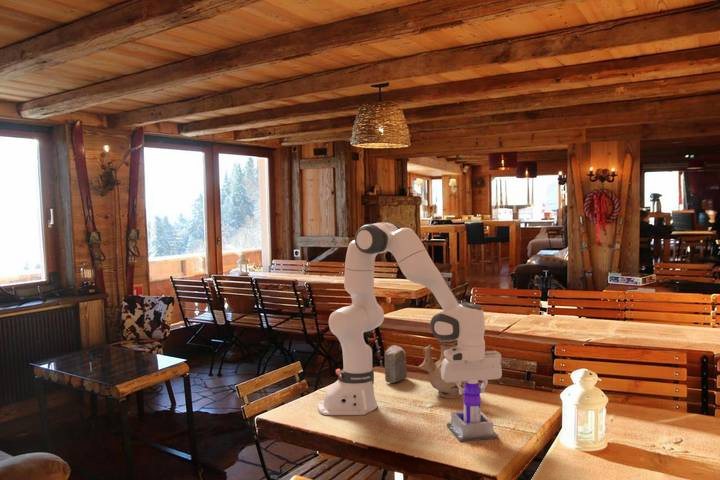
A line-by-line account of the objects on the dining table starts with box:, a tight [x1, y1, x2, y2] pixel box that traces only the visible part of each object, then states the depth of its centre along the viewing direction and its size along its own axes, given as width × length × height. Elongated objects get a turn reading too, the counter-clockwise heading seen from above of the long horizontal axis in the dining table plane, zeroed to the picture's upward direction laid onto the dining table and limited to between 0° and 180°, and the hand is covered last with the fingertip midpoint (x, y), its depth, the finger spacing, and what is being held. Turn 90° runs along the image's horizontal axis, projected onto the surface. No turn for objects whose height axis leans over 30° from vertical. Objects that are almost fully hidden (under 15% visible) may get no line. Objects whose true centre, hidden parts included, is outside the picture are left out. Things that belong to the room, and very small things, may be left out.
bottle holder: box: [446, 410, 499, 443], centre depth 184 cm, size 13×13×5 cm
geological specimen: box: [384, 344, 408, 384], centre depth 241 cm, size 11×6×15 cm, turn 147°
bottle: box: [463, 379, 482, 423], centre depth 183 cm, size 7×6×17 cm
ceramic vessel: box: [417, 339, 466, 399], centre depth 221 cm, size 18×19×25 cm
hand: (471, 393), depth 183 cm, fingers closed on bottle, 5 cm apart
